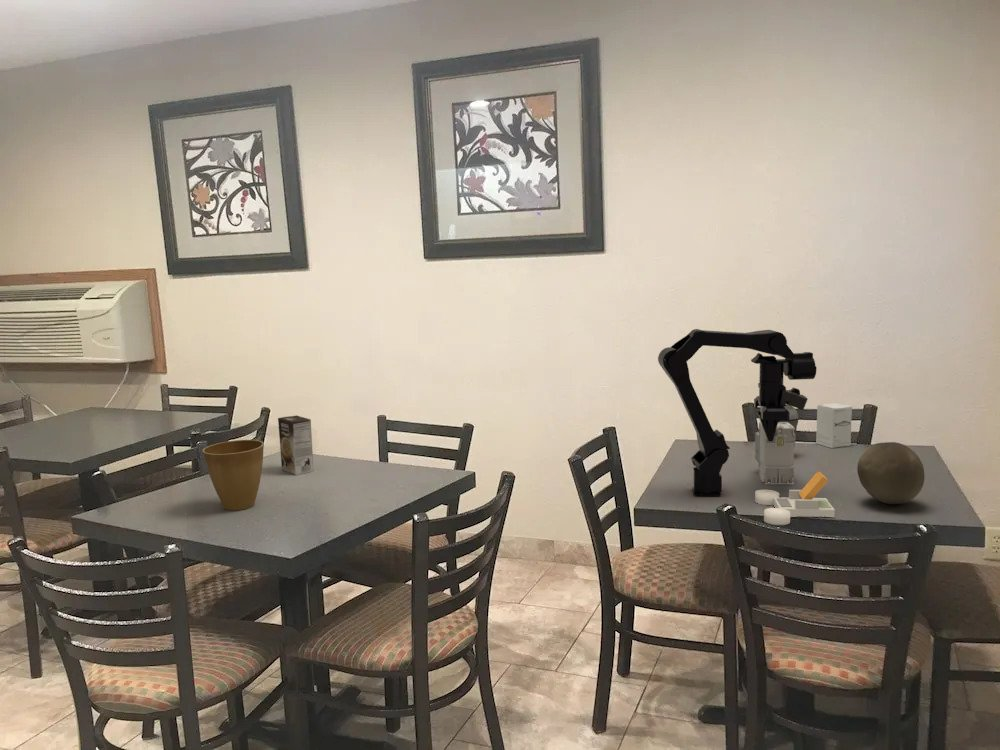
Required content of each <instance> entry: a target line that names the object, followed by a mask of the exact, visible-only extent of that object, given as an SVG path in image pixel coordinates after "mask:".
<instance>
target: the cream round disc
mask: <svg viewBox="0 0 1000 750" xmlns="http://www.w3.org/2000/svg"><path fill="white" fill-rule="evenodd" d="M763 521H764V523H766V524H768V525H773V526H785V525H788V524H790V523H791V517H790V511H788V510H786V509H782V508H774V507H768V508H764V511H763Z"/></svg>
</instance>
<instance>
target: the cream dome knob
mask: <svg viewBox="0 0 1000 750" xmlns="http://www.w3.org/2000/svg"><path fill="white" fill-rule="evenodd" d="M773 497H780V493H779V492H778V491H776V490H773V489H772V490H771V489H757V490H755V492H754V502H756V504H757V503H758V505H760V504H762V505H761V506H766V505H772V506H773Z"/></svg>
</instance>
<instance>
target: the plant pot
mask: <svg viewBox="0 0 1000 750" xmlns="http://www.w3.org/2000/svg"><path fill="white" fill-rule="evenodd" d="M264 446H265V444H264V441H262V440H257V439H239V440H238V439H237V440H229V441H223V442H218V443H214V444H210V445H208V446H206V447H204V448H203V449H202V453H203V459H204V461H205V465H206V468H207V472H208V475H209V477H210V480H211V483H212V485H213V488H214V490H215V492H216V494H217V496H218V498H219V501H220V503H221V504H222V506H223V508H224V510H226V511H236V512H237V511H243V510H246V509H249V508H252V507H253V506H255V503H256V500H257V496H258V492H259V488H260V484H261V477H262V471H263V470H262V469H263V463H264V461H263V460H264V449H265V447H264Z"/></svg>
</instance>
